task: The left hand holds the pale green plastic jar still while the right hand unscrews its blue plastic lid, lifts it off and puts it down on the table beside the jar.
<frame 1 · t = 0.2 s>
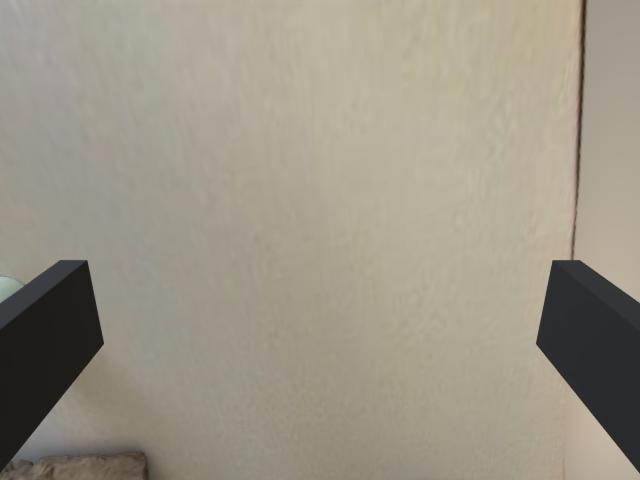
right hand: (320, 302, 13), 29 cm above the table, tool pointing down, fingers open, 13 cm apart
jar: (8, 299, 46), on the table
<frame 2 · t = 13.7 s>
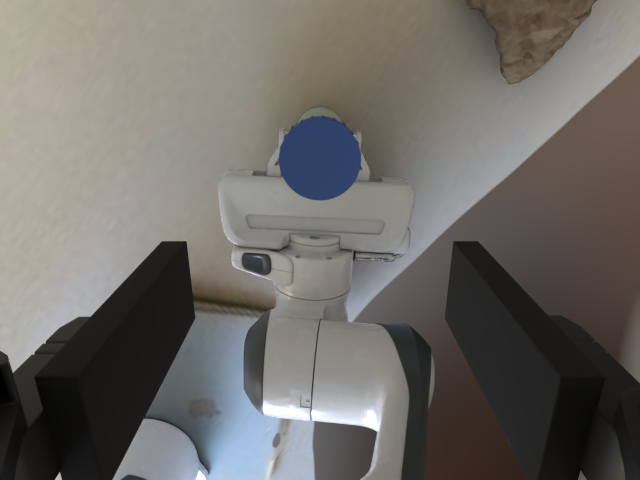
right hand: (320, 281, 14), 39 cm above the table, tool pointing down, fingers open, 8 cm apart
left hand: (319, 130, 44), fingers closed on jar, 5 cm apart
lid: (319, 160, 34), point 18 cm above the table, screwed on, not yet turned
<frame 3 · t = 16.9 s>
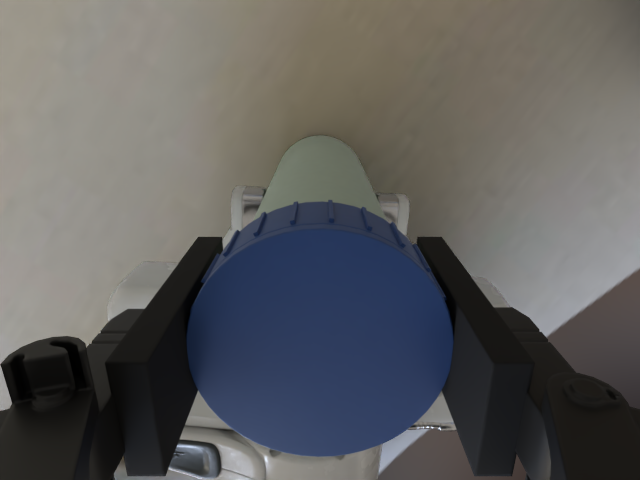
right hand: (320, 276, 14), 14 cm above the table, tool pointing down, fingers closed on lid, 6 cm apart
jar: (320, 179, 28), on the table, touching left hand
lid: (319, 346, 11), point 18 cm above the table, screwed on, not yet turned, touching right hand
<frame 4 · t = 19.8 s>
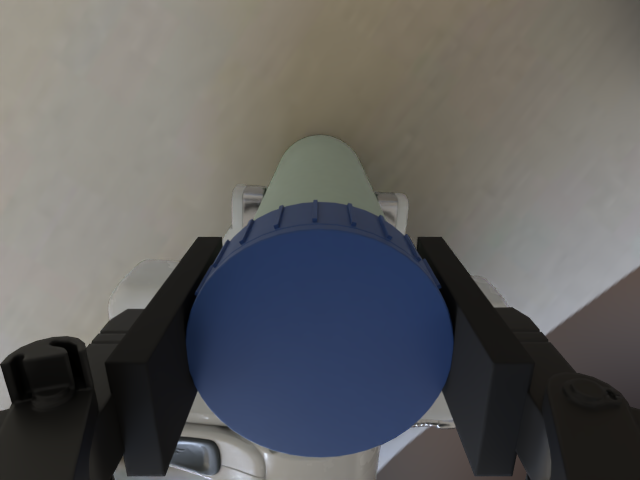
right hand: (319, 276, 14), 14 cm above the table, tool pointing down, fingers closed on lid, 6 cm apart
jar: (319, 178, 28), on the table, touching left hand
lid: (319, 347, 11), point 18 cm above the table, turned 69° so far, risen 0.2 cm, still on its thread, touching right hand
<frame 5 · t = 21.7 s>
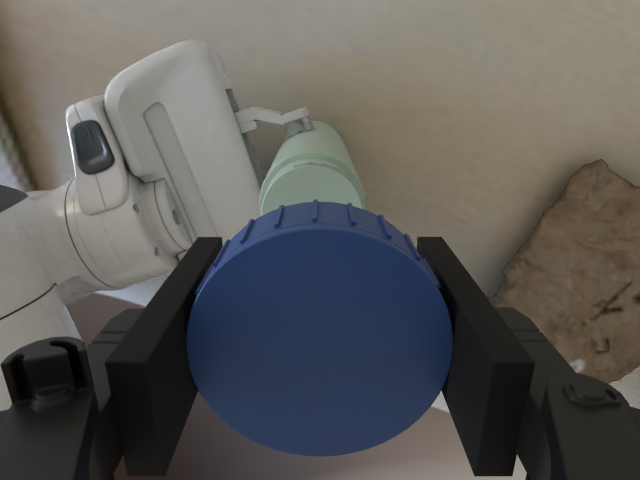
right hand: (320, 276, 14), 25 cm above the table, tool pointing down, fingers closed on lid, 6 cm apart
left hand: (325, 164, 31), fingers closed on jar, 5 cm apart
stone: (556, 279, 42), on the table
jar: (313, 152, 38), on the table, touching left hand
lid: (319, 346, 11), point 29 cm above the table, off its thread, touching right hand
when the right hand's fingers open (0 cm above the table, at t = 27.7 s): lid drops 3 cm, point 2 cm above the table.
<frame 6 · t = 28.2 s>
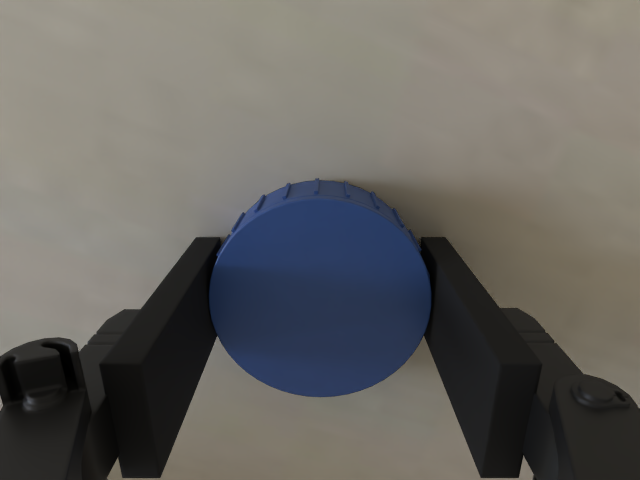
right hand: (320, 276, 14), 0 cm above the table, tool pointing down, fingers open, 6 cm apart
lid: (319, 300, 13), point 2 cm above the table, off its thread
when the left hand's fingers open (7 cm above the table, at t = 29.6 s): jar stays where it is, on the table.
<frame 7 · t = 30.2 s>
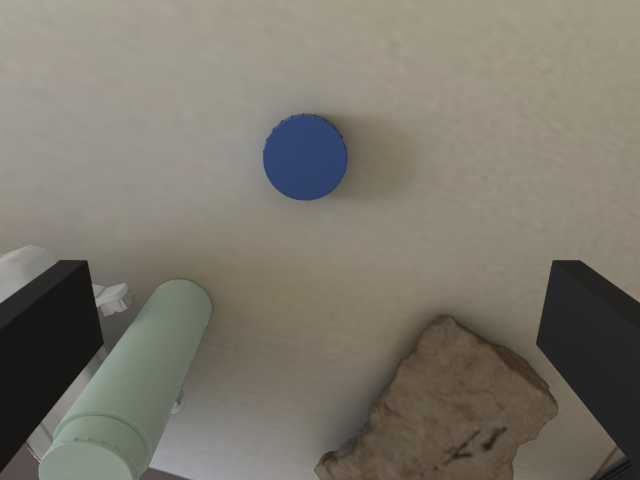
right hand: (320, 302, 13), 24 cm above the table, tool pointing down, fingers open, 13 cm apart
left hand: (156, 348, 33), fingers open, 8 cm apart
stone: (426, 409, 44), on the table
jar: (182, 306, 40), on the table
lid: (305, 159, 33), point 2 cm above the table, off its thread
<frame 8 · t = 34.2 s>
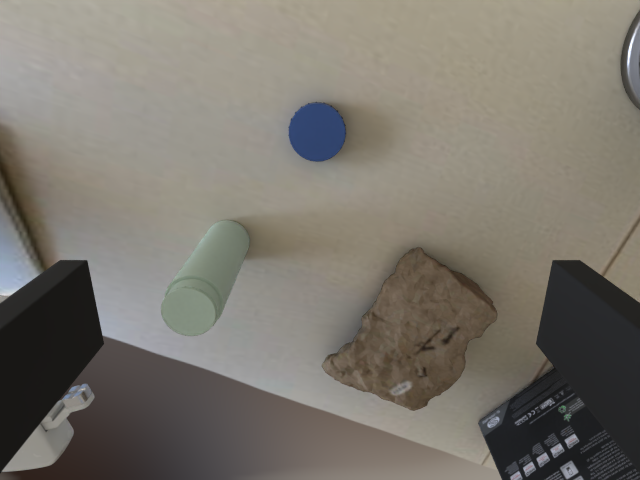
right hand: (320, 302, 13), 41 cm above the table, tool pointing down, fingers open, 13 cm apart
graphics card box: (531, 399, 64), on the table
stone: (405, 323, 60), on the table
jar: (228, 240, 56), on the table
lid: (317, 132, 49), point 2 cm above the table, off its thread
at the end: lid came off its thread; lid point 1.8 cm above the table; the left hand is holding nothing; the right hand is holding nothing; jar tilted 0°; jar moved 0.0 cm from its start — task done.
